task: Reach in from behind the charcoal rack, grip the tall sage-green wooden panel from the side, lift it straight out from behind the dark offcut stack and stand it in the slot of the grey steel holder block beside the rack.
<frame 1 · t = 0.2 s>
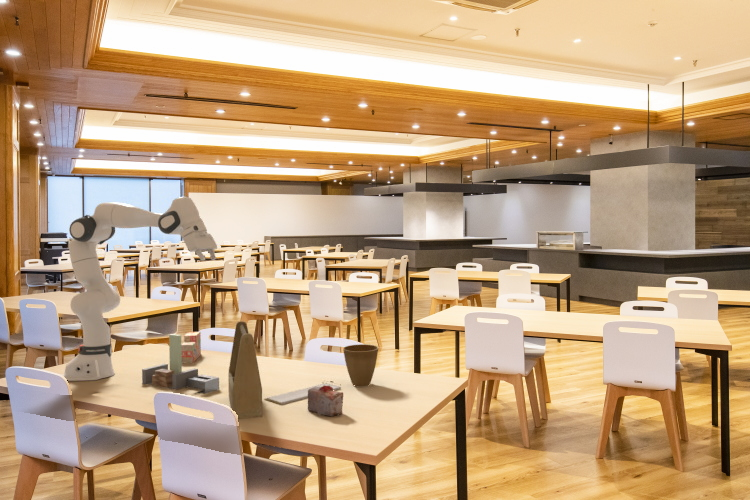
hand: (208, 259, 258), 53 cm above the table, tool tilted 25°, fingers open, 8 cm apart
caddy: (244, 406, 225), on the table
offcut rack: (170, 386, 253), on the table
food item: (325, 413, 218), on the table
steel holder: (203, 389, 248), on the table
baseboard molding: (302, 395, 242), on the table
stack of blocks: (190, 359, 308), on the table
offcut stack: (164, 384, 250), point 1 cm above the table, touching offcut rack
tall panel: (175, 381, 256), point 1 cm above the table, touching offcut rack
plant pot: (360, 385, 256), on the table
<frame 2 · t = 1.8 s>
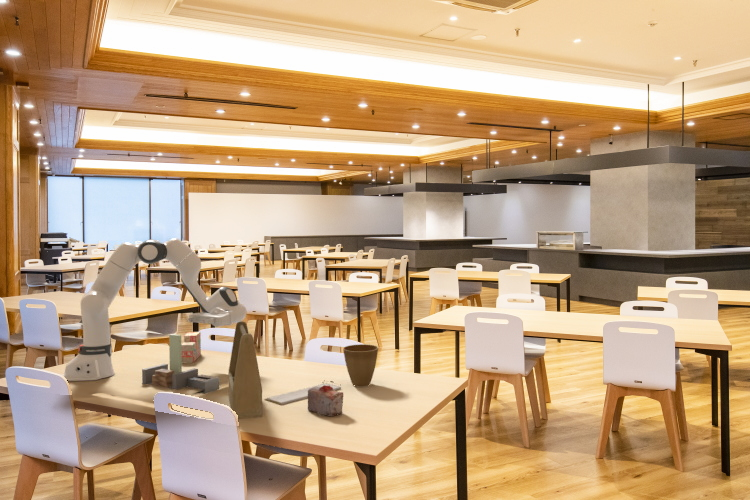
hand: (196, 321, 265), 26 cm above the table, tool horizontal, fingers open, 8 cm apart
nothing on the table moved.
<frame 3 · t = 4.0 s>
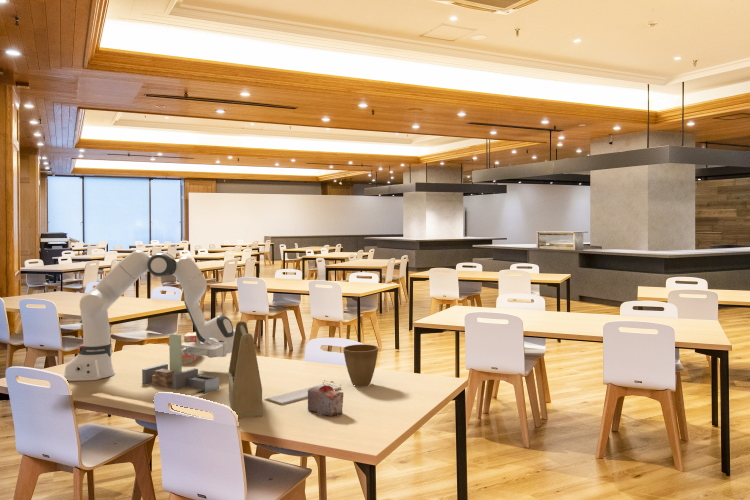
hand: (189, 352, 262), 12 cm above the table, tool horizontal, fingers open, 8 cm apart
nothing on the table moved.
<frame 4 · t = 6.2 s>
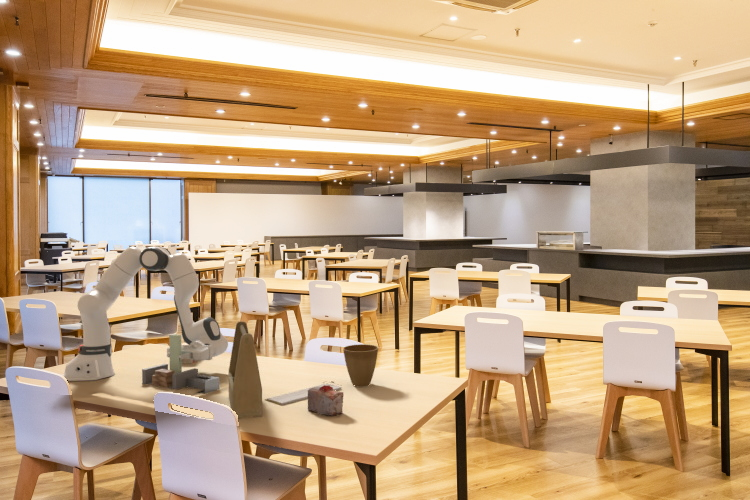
hand: (173, 356, 254), 13 cm above the table, tool horizontal, fingers closed on tall panel, 6 cm apart
tall panel: (175, 381, 256), point 1 cm above the table, touching gripper, offcut rack
everything else where it was.
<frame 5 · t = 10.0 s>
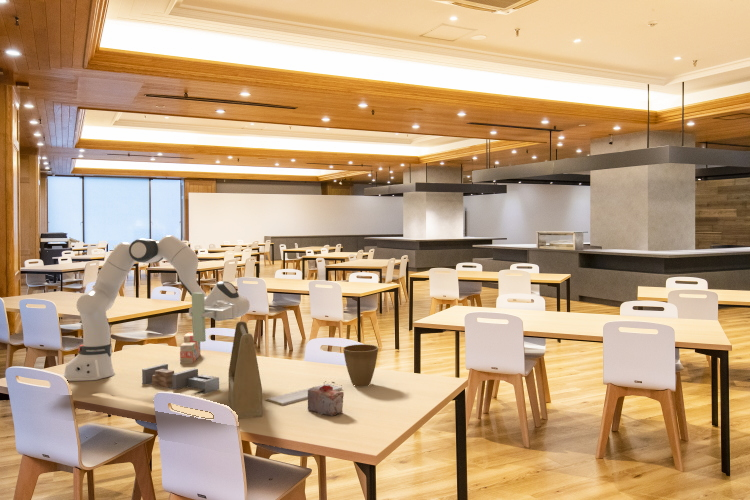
hand: (196, 314, 248), 31 cm above the table, tool horizontal, fingers closed on tall panel, 5 cm apart
tall panel: (199, 341, 249), point 20 cm above the table, touching gripper
when the fingers open (13 cm above the table, at t = 13.8 s): tall panel stays where it is, resting on steel holder.
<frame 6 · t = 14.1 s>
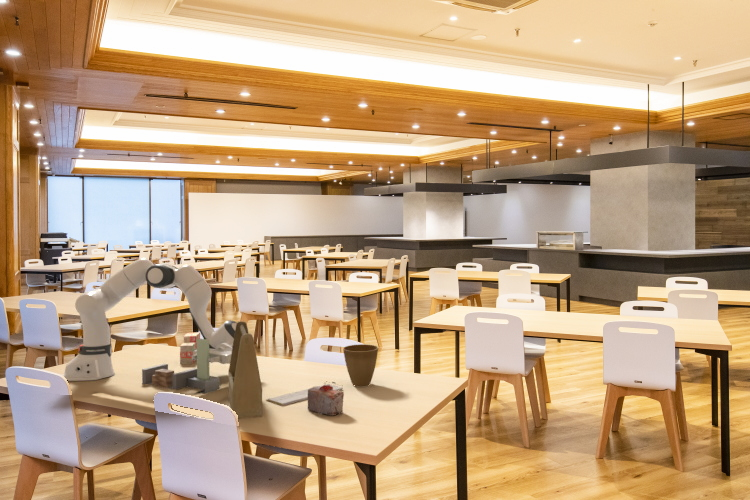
hand: (201, 359, 247), 13 cm above the table, tool horizontal, fingers open, 8 cm apart
tall panel: (203, 387, 248), point 1 cm above the table, touching steel holder
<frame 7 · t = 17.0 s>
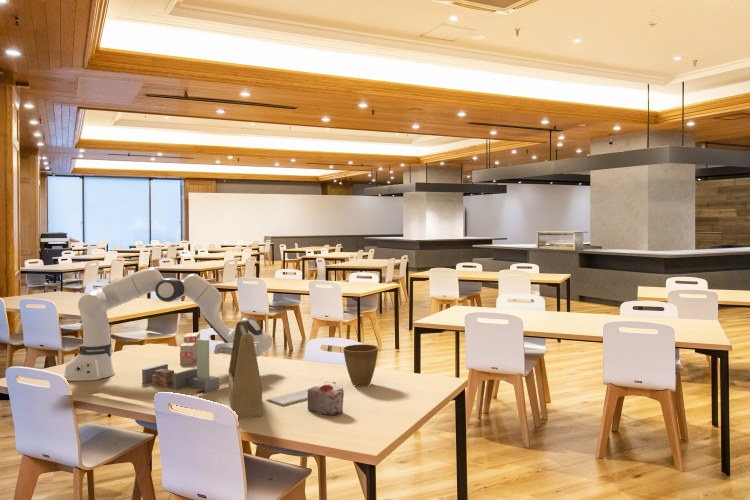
hand: (223, 353, 258), 13 cm above the table, tool horizontal, fingers open, 8 cm apart
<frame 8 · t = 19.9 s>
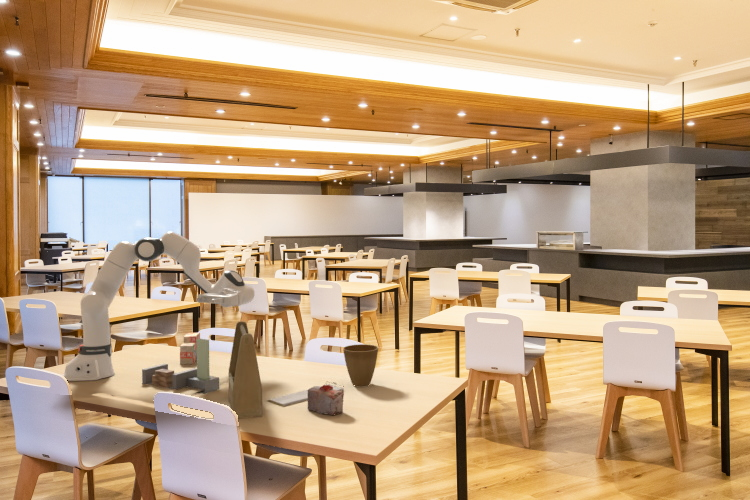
hand: (205, 300, 264), 35 cm above the table, tool horizontal, fingers open, 8 cm apart
at the end: tall panel 0.1 cm off-centre on the steel holder, point 1.0 cm above the steel holder's base; tall panel tilted 0°; offcut stack moved 0.0 cm from its start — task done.
